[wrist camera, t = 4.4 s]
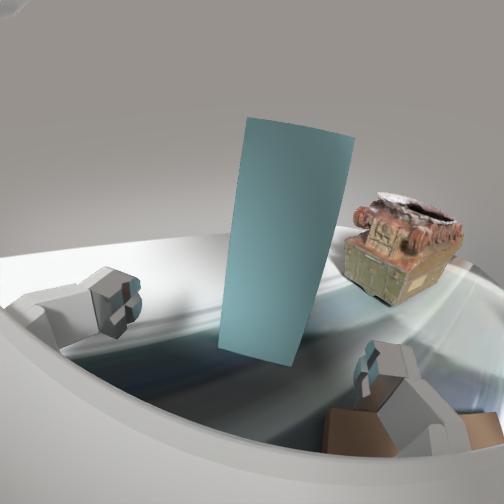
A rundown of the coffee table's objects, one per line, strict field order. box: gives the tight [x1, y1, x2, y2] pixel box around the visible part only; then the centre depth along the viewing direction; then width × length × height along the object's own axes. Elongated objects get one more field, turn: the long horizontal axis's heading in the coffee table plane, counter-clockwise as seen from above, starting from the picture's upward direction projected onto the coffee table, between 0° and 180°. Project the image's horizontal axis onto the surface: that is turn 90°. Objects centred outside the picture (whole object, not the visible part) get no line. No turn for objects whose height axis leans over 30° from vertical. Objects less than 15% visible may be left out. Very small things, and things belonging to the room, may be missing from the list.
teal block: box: [218, 117, 355, 367], centre depth 16 cm, size 5×5×14 cm
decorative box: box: [344, 192, 464, 307], centre depth 30 cm, size 13×20×10 cm, turn 113°
